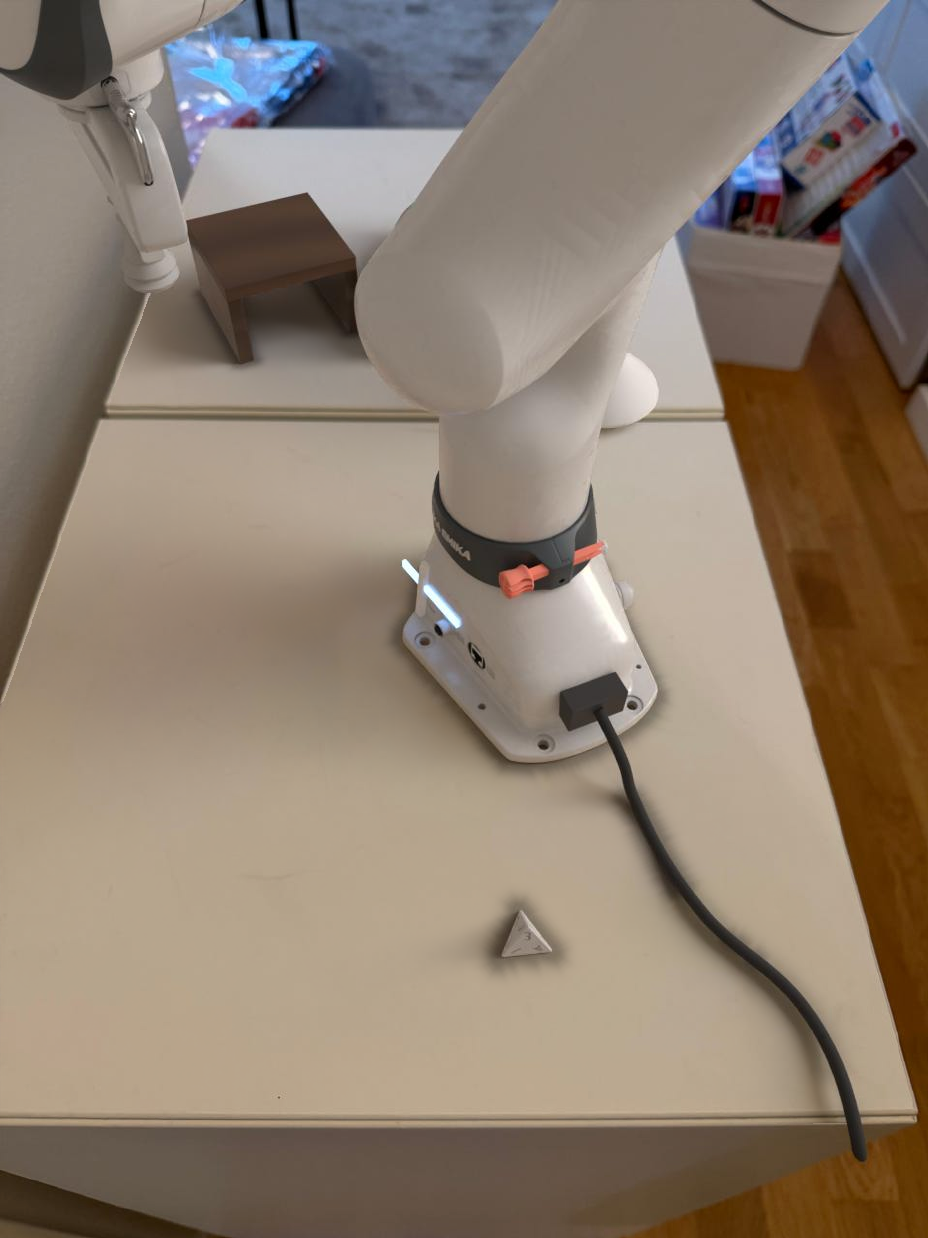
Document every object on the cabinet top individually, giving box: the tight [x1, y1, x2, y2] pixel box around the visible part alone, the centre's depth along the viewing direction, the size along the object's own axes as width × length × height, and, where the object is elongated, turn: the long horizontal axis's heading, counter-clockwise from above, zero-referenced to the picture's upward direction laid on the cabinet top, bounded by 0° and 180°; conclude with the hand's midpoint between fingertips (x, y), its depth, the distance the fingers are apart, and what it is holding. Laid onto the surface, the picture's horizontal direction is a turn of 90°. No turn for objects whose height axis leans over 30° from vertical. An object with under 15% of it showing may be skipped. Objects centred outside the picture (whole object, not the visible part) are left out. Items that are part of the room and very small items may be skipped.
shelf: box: [186, 191, 359, 365], centre depth 100 cm, size 14×14×9 cm
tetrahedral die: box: [501, 909, 553, 958], centre depth 61 cm, size 4×3×3 cm
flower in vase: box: [601, 351, 659, 429], centre depth 86 cm, size 13×11×25 cm
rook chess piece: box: [106, 194, 180, 294], centre depth 71 cm, size 4×4×8 cm
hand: (144, 243), depth 72 cm, fingers closed on rook chess piece, 3 cm apart
